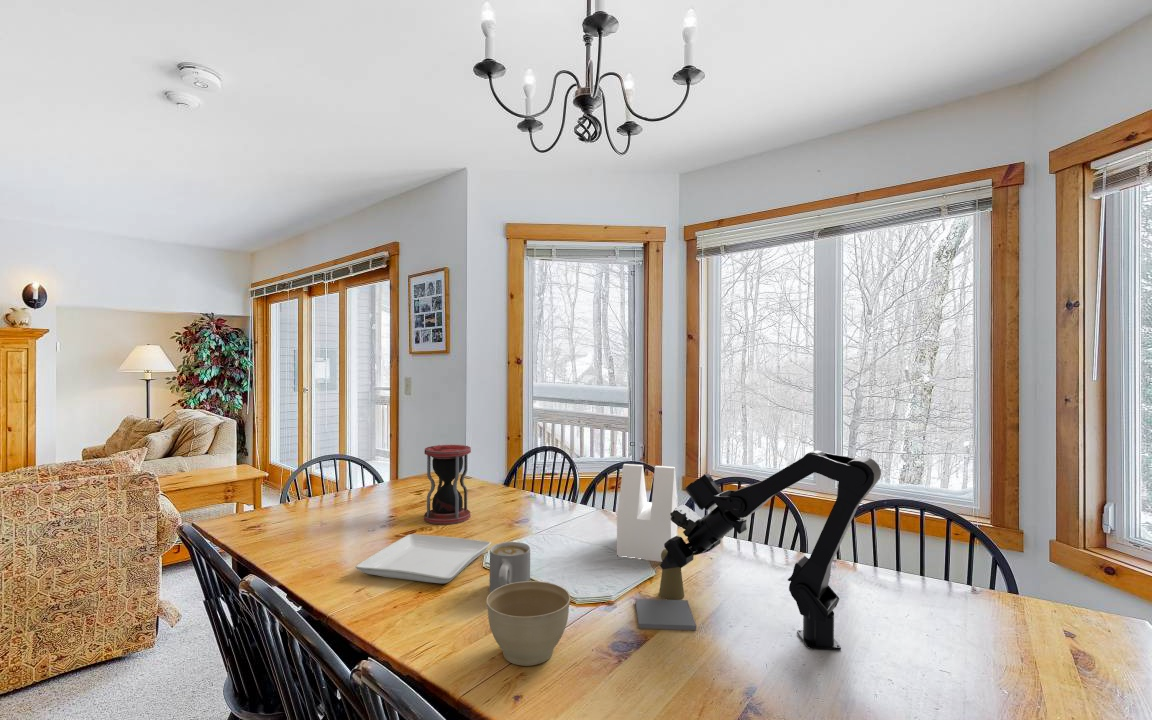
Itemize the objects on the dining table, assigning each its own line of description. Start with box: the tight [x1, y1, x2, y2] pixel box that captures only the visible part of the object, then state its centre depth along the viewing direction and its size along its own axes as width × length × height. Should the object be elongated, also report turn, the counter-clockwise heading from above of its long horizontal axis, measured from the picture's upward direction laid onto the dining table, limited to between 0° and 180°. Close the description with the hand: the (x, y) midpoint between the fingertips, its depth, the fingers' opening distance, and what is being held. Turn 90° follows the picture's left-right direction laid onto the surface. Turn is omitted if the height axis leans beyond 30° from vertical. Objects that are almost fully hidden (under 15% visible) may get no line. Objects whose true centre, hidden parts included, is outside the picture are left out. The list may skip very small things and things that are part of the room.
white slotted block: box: [616, 463, 678, 563], centre depth 163 cm, size 19×15×25 cm
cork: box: [658, 549, 685, 600], centre depth 131 cm, size 6×6×11 cm
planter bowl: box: [485, 580, 571, 667], centre depth 104 cm, size 16×16×11 cm
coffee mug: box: [489, 541, 531, 594], centre depth 132 cm, size 13×10×10 cm
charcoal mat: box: [635, 598, 697, 631], centre depth 120 cm, size 12×12×1 cm
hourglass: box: [423, 444, 472, 525], centre depth 192 cm, size 16×16×25 cm
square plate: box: [354, 533, 492, 585], centre depth 149 cm, size 27×27×4 cm
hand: (671, 561), depth 131 cm, fingers open, 9 cm apart
